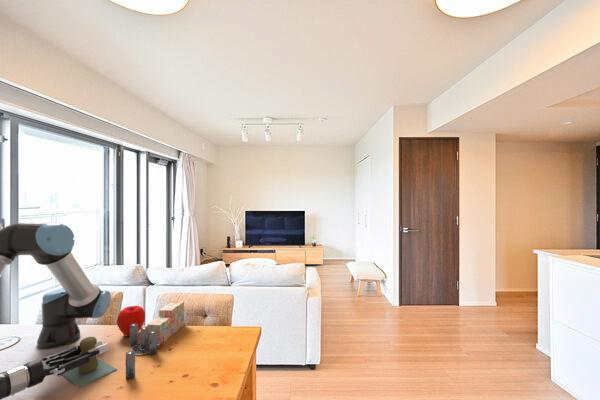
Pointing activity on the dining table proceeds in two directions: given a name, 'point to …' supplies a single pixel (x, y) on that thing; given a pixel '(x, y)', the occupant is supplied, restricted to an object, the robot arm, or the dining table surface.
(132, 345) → the spacer posts
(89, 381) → the mat
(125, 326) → the apple
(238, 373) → the dining table surface
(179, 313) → the stack of blocks
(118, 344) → the dining table surface
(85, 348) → the cork
